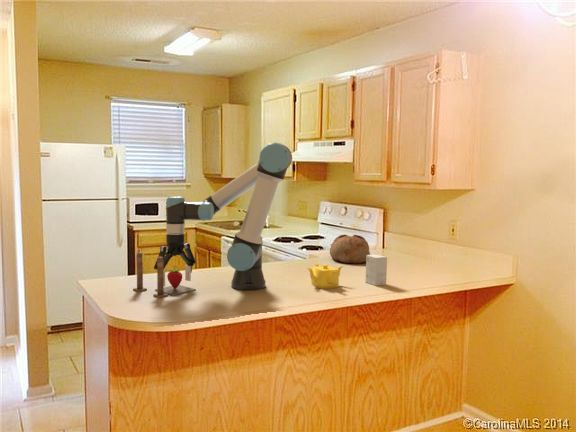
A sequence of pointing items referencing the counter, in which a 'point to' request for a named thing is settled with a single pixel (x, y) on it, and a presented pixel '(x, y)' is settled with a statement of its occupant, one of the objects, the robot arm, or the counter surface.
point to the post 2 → (160, 279)
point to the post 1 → (139, 273)
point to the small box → (376, 269)
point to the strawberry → (174, 278)
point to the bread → (350, 249)
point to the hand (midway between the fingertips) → (175, 283)
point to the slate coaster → (177, 290)
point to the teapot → (325, 276)
